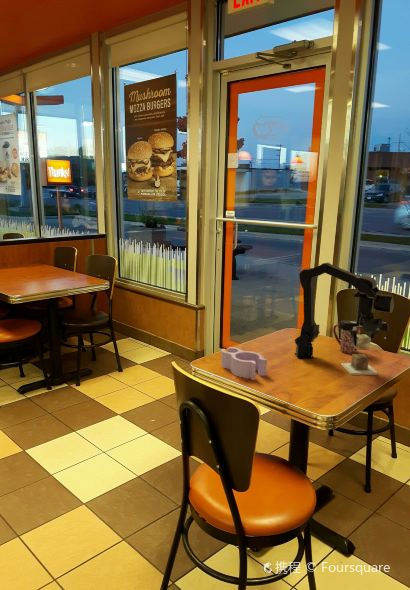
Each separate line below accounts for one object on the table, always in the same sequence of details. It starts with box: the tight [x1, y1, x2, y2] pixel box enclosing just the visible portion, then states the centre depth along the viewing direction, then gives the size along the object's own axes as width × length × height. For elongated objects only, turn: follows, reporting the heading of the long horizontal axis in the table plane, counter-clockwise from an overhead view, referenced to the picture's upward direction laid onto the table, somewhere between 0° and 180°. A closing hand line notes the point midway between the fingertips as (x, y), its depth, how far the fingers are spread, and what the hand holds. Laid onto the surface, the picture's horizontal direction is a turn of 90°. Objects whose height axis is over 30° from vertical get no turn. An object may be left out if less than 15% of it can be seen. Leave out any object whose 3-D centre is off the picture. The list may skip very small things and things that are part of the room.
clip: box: [220, 346, 268, 381], centre depth 183 cm, size 20×12×7 cm, turn 41°
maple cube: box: [353, 334, 372, 351], centre depth 184 cm, size 5×5×5 cm
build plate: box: [341, 362, 379, 376], centre depth 187 cm, size 11×11×1 cm
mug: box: [332, 320, 361, 355], centre depth 209 cm, size 13×9×14 cm
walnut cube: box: [350, 353, 370, 370], centre depth 186 cm, size 5×5×5 cm
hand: (361, 345), depth 185 cm, fingers closed on maple cube, 5 cm apart
